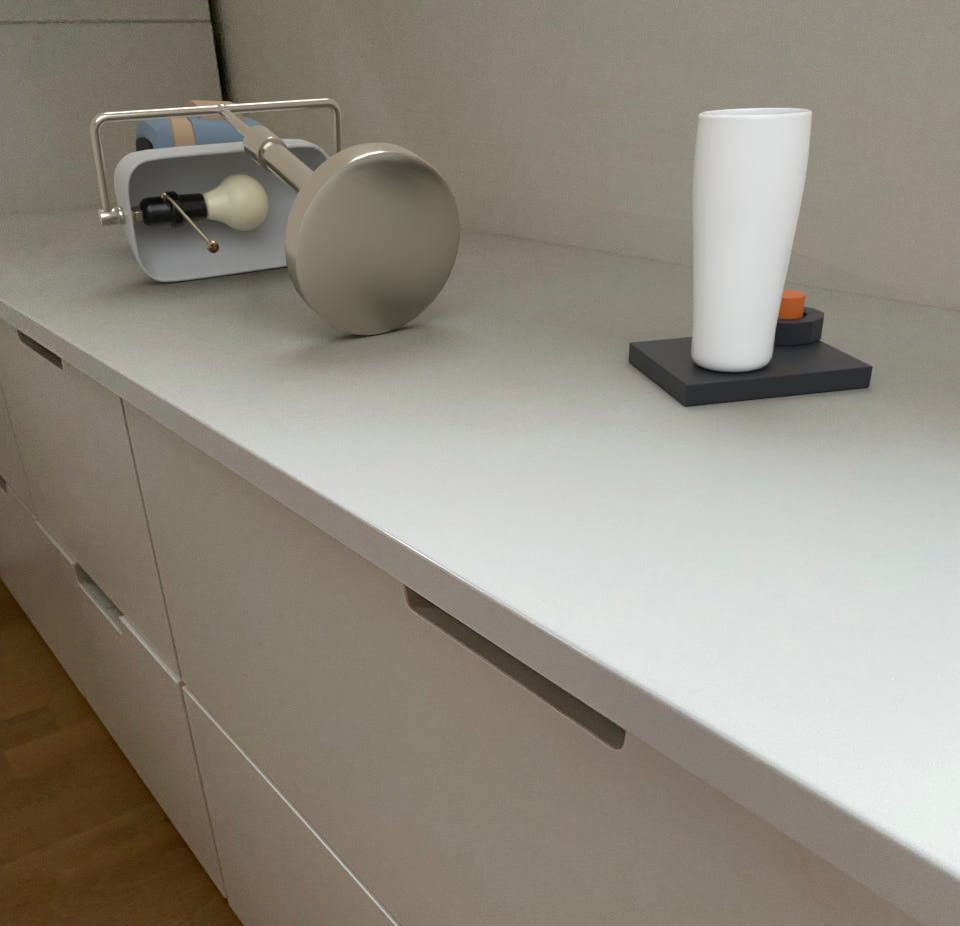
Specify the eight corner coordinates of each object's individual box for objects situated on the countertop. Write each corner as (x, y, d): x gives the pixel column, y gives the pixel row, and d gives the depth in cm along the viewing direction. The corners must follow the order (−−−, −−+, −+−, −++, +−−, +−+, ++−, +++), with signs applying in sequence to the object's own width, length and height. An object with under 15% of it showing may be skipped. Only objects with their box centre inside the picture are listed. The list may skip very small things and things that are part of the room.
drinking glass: (675, 376, 64) (693, 116, 56) (682, 348, 70) (699, 109, 62) (783, 380, 62) (817, 113, 55) (781, 351, 68) (811, 106, 60)
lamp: (504, 393, 93) (326, 231, 117) (535, 137, 78) (323, 11, 101) (232, 453, 82) (96, 260, 106) (205, 168, 66) (53, 17, 90)
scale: (796, 342, 75) (801, 302, 74) (880, 386, 65) (888, 340, 64) (624, 358, 73) (626, 317, 71) (685, 406, 63) (688, 359, 62)
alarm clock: (146, 239, 129) (119, 101, 120) (268, 227, 134) (250, 94, 126) (168, 258, 116) (139, 105, 108) (302, 244, 121) (284, 97, 113)
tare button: (791, 313, 72) (794, 288, 71) (809, 321, 70) (812, 295, 69) (759, 316, 72) (761, 291, 71) (775, 324, 70) (778, 298, 69)
